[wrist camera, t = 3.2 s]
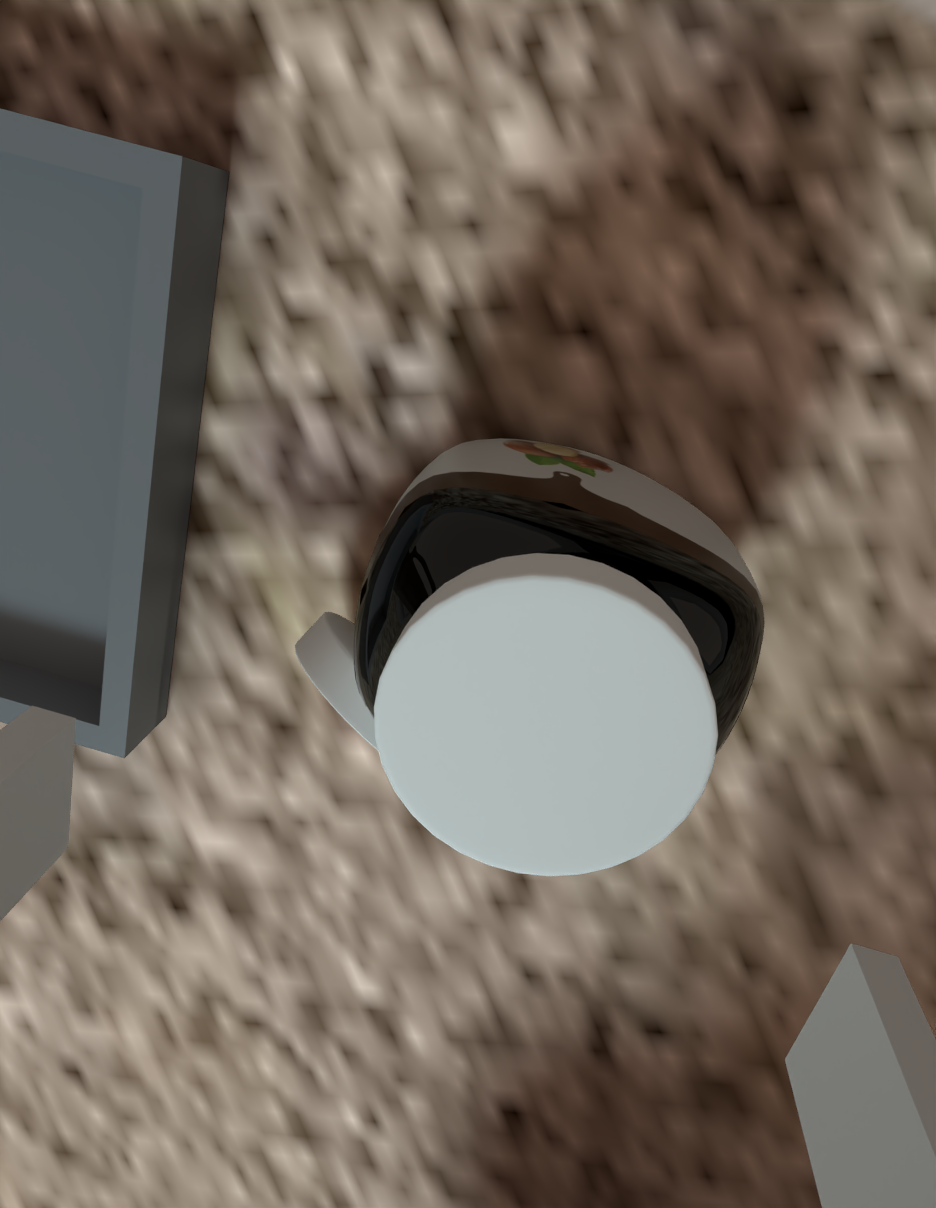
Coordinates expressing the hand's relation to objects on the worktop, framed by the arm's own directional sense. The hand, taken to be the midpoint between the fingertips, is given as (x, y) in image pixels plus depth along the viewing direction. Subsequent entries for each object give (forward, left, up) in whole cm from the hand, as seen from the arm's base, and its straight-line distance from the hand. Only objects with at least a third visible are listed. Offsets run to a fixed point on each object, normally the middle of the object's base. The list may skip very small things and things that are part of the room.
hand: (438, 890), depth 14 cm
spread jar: (0, 0, -15) cm, 15 cm away
